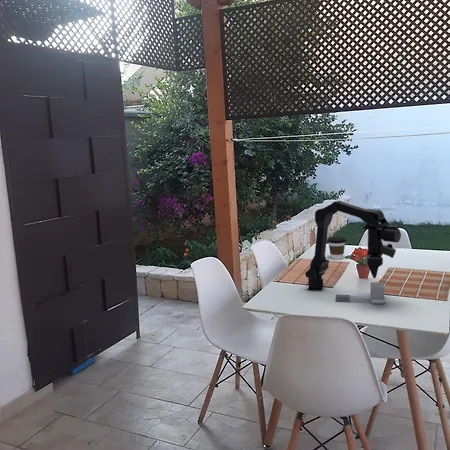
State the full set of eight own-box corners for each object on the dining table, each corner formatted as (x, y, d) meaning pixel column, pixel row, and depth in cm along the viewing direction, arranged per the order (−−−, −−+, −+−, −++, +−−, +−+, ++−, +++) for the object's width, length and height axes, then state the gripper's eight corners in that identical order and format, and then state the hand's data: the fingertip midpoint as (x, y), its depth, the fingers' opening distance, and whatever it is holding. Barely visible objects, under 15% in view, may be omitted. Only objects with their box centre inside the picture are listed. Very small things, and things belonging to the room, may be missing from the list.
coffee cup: (323, 258, 282) (323, 238, 280) (338, 255, 286) (338, 236, 284) (335, 261, 272) (335, 241, 270) (350, 258, 277) (350, 239, 275)
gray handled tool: (335, 302, 204) (335, 290, 203) (336, 297, 211) (336, 286, 210) (386, 305, 198) (386, 292, 197) (385, 299, 205) (385, 287, 204)
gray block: (370, 299, 201) (370, 286, 199) (370, 295, 206) (370, 282, 205) (384, 299, 199) (384, 286, 198) (383, 295, 204) (383, 282, 203)
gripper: (396, 245, 189) (395, 282, 191) (393, 235, 206) (392, 269, 209) (367, 244, 192) (366, 281, 195) (367, 235, 209) (366, 268, 212)
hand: (374, 274), depth 202 cm, fingers open, 9 cm apart
